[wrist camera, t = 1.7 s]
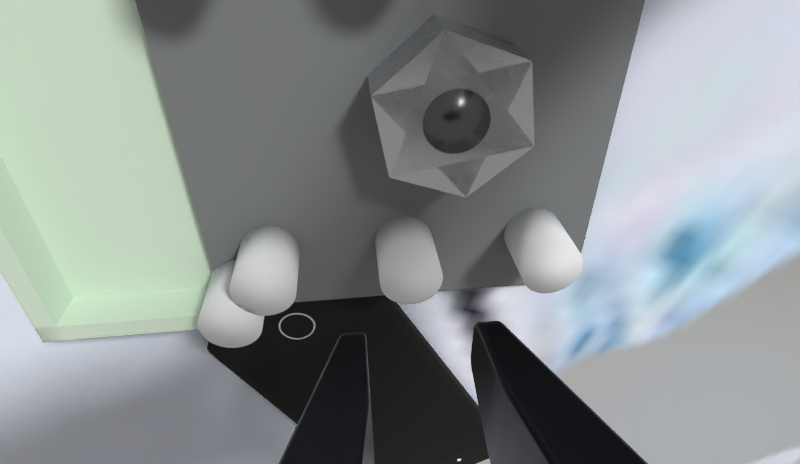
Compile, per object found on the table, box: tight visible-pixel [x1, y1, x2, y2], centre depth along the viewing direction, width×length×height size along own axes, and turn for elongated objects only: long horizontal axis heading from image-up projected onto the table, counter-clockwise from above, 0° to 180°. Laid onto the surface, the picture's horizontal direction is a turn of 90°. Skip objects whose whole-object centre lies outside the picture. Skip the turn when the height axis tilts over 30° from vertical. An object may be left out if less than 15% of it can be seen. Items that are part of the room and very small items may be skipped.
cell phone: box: [207, 295, 489, 464], centre depth 28 cm, size 9×18×1 cm, turn 29°
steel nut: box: [367, 15, 535, 197], centre depth 17 cm, size 5×6×2 cm
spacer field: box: [0, 0, 645, 348], centre depth 17 cm, size 23×18×3 cm
